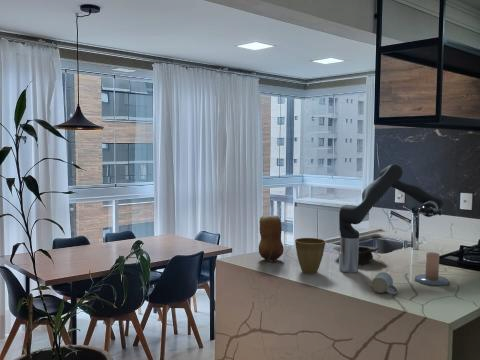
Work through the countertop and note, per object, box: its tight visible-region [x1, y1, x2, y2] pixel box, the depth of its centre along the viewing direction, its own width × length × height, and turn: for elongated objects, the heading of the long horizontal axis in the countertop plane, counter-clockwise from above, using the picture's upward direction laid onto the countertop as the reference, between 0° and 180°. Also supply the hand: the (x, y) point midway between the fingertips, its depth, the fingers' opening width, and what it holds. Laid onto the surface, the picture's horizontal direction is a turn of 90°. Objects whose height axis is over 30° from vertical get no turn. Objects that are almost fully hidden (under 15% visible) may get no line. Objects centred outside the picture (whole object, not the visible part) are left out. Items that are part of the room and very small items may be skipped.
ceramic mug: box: [370, 271, 399, 296], centre depth 204 cm, size 11×8×8 cm
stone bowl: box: [332, 245, 380, 266], centre depth 258 cm, size 25×25×9 cm
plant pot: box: [294, 237, 326, 275], centre depth 233 cm, size 15×15×16 cm
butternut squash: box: [258, 214, 284, 262], centre depth 254 cm, size 14×13×25 cm
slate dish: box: [414, 273, 450, 287], centre depth 221 cm, size 15×15×1 cm
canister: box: [425, 251, 440, 280], centre depth 221 cm, size 6×6×12 cm
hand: (424, 212), depth 236 cm, fingers open, 8 cm apart
